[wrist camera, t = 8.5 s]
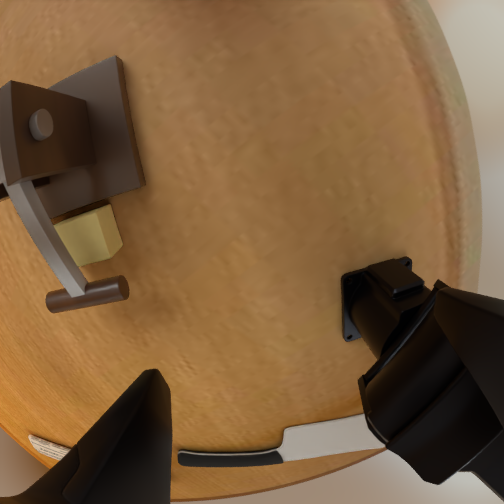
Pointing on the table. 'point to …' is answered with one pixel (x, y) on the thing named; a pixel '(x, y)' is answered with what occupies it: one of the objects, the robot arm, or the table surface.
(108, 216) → the butter
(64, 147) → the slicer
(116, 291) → the lever handle
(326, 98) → the table surface
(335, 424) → the kitchen cleaver
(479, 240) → the table surface
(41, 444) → the newspaper
